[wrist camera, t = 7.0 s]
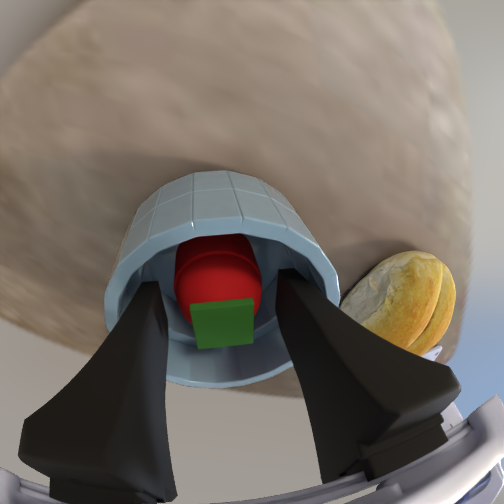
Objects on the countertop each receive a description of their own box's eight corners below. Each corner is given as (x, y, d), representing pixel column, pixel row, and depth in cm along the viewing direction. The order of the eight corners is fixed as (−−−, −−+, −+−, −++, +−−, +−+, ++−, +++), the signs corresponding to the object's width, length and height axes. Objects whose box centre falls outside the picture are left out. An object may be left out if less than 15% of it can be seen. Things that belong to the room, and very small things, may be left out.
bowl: (292, 307, 16) (318, 373, 12) (147, 321, 15) (141, 393, 11) (308, 163, 11) (361, 210, 8) (111, 178, 10) (70, 233, 7)
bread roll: (383, 350, 21) (404, 388, 18) (309, 325, 17) (331, 378, 14) (455, 278, 18) (485, 312, 15) (404, 221, 14) (450, 264, 11)
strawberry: (252, 284, 14) (271, 352, 10) (181, 292, 13) (181, 362, 10) (253, 220, 12) (278, 283, 9) (170, 227, 11) (163, 294, 8)
